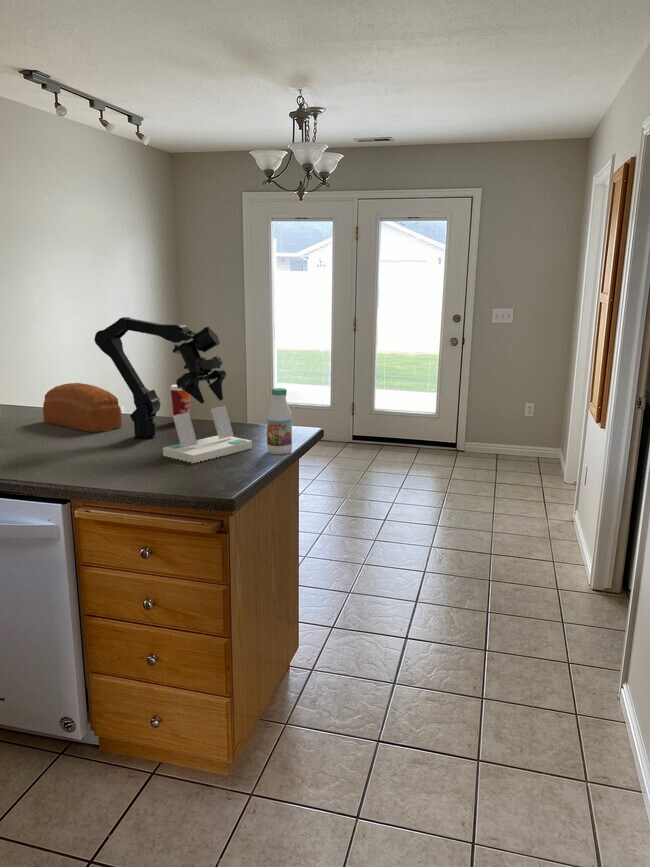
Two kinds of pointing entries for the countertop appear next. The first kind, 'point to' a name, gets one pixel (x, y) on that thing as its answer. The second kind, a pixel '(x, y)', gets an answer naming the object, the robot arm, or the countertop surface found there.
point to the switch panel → (207, 449)
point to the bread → (82, 407)
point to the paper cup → (180, 400)
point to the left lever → (185, 430)
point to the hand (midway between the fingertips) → (212, 401)
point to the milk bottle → (279, 424)
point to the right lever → (222, 422)
